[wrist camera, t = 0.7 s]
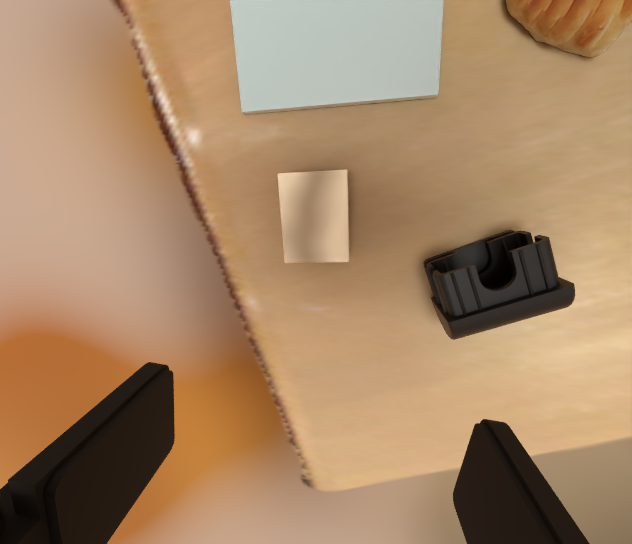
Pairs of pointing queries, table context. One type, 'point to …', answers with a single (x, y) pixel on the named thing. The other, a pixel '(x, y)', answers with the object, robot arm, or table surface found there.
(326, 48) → the base plate
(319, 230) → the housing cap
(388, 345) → the table surface
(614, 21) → the pastry
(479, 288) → the end cap
